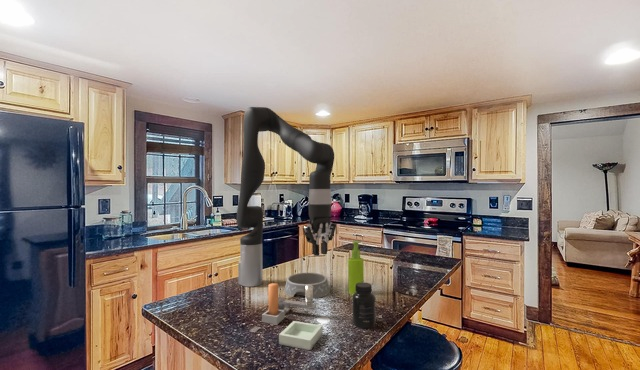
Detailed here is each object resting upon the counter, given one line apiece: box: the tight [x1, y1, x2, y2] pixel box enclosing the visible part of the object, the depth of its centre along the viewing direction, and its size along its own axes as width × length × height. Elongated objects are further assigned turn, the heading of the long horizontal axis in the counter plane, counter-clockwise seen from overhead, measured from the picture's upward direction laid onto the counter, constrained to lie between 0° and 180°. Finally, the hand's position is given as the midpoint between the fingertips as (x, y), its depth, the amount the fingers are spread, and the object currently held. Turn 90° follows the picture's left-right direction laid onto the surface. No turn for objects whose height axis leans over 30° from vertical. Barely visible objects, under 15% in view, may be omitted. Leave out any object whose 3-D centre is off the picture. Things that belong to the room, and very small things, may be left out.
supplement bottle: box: [352, 281, 376, 330], centre depth 94 cm, size 7×7×12 cm
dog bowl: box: [283, 272, 331, 299], centre depth 125 cm, size 17×18×5 cm
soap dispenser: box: [347, 240, 365, 295], centre depth 123 cm, size 6×7×20 cm
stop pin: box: [268, 282, 279, 316], centre depth 97 cm, size 3×3×11 cm
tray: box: [278, 320, 324, 351], centre depth 85 cm, size 9×9×2 cm
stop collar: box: [261, 309, 286, 325], centre depth 97 cm, size 5×5×2 cm
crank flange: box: [249, 306, 290, 333], centre depth 98 cm, size 7×20×1 cm, turn 159°
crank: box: [278, 285, 317, 310], centre depth 102 cm, size 15×4×8 cm, turn 69°
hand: (320, 254), depth 103 cm, fingers open, 3 cm apart
